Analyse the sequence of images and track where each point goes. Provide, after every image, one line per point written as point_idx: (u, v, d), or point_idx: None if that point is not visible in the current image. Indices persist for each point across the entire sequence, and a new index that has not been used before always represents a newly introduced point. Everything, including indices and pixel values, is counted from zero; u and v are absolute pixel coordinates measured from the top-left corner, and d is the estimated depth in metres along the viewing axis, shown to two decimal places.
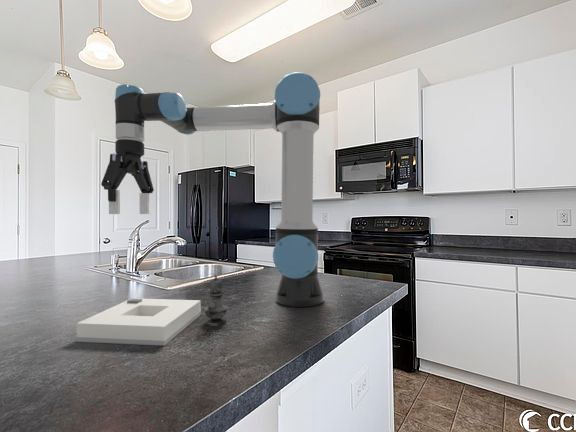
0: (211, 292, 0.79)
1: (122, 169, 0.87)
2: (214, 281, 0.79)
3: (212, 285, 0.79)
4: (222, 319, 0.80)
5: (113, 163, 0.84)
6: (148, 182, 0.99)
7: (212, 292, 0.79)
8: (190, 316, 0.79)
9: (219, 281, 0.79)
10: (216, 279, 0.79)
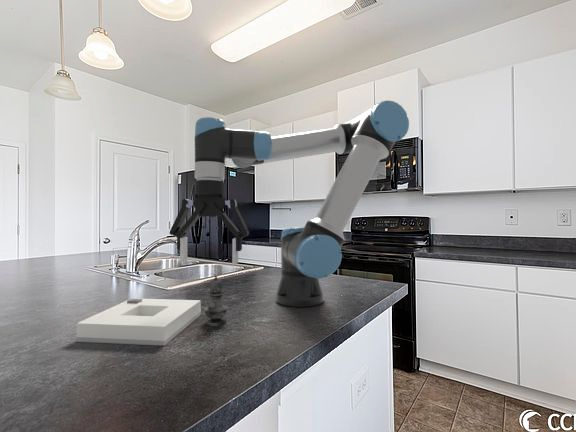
0: (211, 292, 0.79)
1: None
2: (214, 281, 0.79)
3: (212, 285, 0.79)
4: (222, 319, 0.80)
5: None
6: None
7: (212, 292, 0.79)
8: (190, 316, 0.79)
9: (219, 281, 0.79)
10: (216, 279, 0.79)
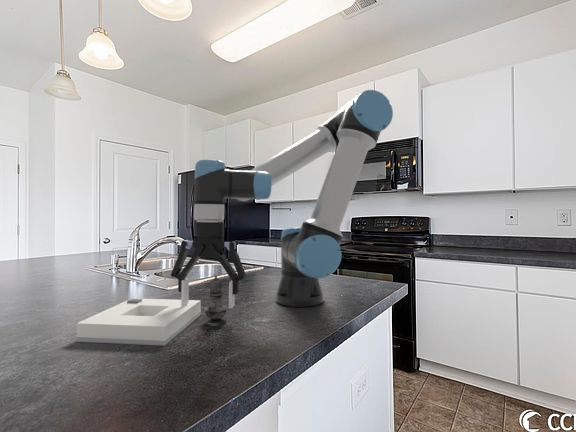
0: (211, 292, 0.79)
1: None
2: (214, 281, 0.79)
3: (212, 285, 0.79)
4: (222, 319, 0.80)
5: None
6: None
7: (212, 292, 0.79)
8: (190, 316, 0.79)
9: (219, 281, 0.79)
10: (216, 279, 0.79)
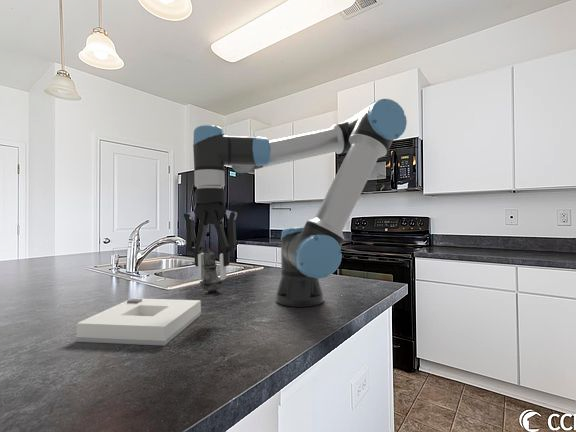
0: (205, 265, 0.79)
1: None
2: (207, 253, 0.79)
3: (205, 257, 0.79)
4: (218, 291, 0.81)
5: None
6: None
7: (206, 264, 0.79)
8: (190, 316, 0.79)
9: (212, 253, 0.80)
10: (209, 251, 0.80)
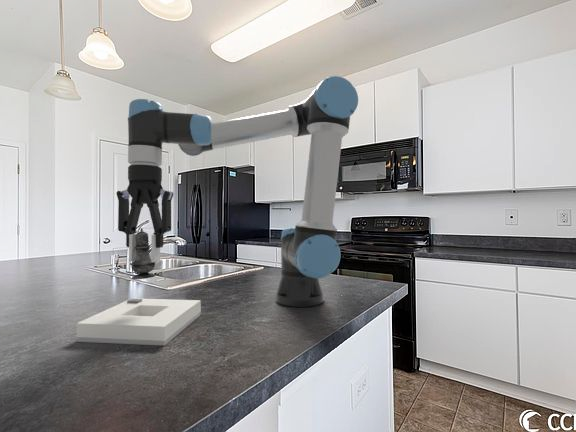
0: (136, 245, 0.75)
1: None
2: (139, 233, 0.75)
3: (137, 238, 0.75)
4: (151, 274, 0.77)
5: None
6: None
7: (137, 245, 0.75)
8: (190, 316, 0.79)
9: (144, 233, 0.76)
10: (141, 232, 0.76)
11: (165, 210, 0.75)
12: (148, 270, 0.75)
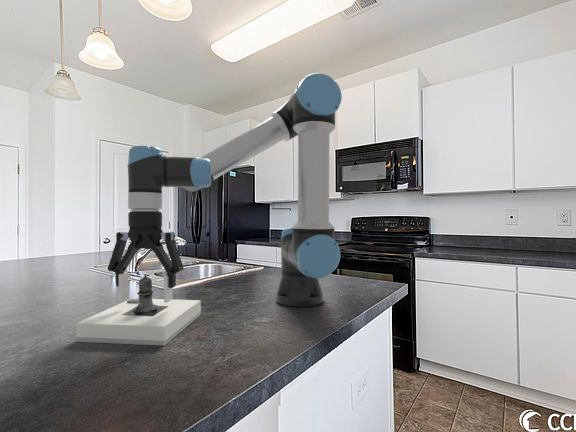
0: (139, 291, 0.76)
1: None
2: (142, 280, 0.75)
3: (140, 284, 0.75)
4: None
5: None
6: None
7: (140, 291, 0.75)
8: (190, 316, 0.79)
9: (148, 280, 0.76)
10: (145, 278, 0.76)
11: (172, 251, 0.74)
12: None
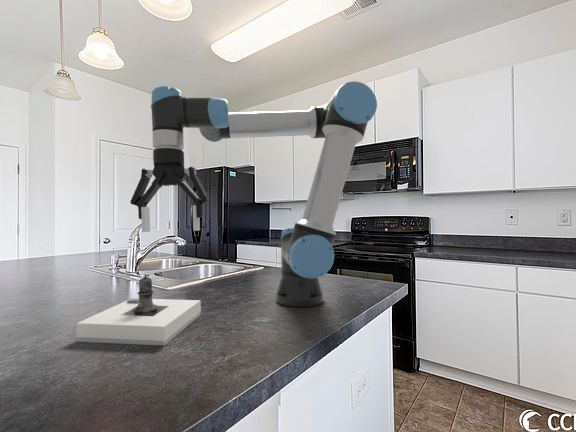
0: (139, 291, 0.76)
1: None
2: (142, 280, 0.75)
3: (140, 284, 0.75)
4: None
5: None
6: None
7: (140, 291, 0.75)
8: (190, 316, 0.79)
9: (148, 280, 0.76)
10: (145, 278, 0.76)
11: (197, 183, 0.80)
12: None
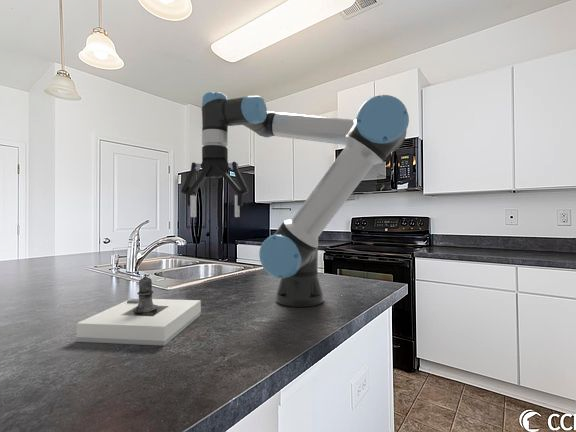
0: (139, 291, 0.76)
1: None
2: (142, 280, 0.75)
3: (140, 284, 0.75)
4: None
5: None
6: None
7: (140, 291, 0.75)
8: (190, 316, 0.79)
9: (148, 280, 0.76)
10: (145, 278, 0.76)
11: (239, 176, 0.92)
12: None
